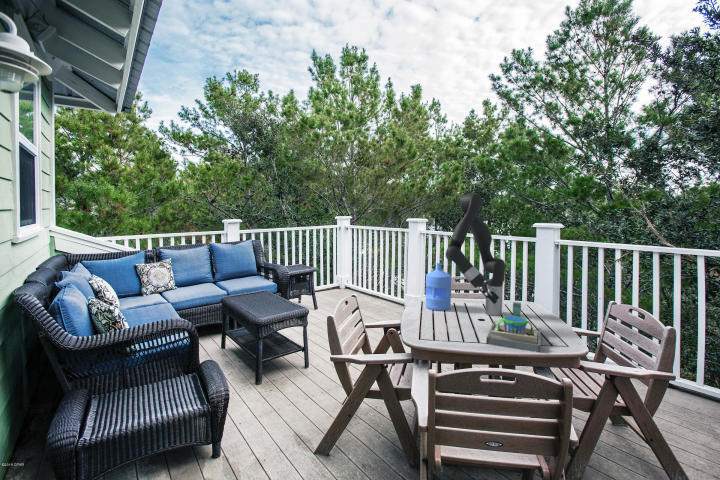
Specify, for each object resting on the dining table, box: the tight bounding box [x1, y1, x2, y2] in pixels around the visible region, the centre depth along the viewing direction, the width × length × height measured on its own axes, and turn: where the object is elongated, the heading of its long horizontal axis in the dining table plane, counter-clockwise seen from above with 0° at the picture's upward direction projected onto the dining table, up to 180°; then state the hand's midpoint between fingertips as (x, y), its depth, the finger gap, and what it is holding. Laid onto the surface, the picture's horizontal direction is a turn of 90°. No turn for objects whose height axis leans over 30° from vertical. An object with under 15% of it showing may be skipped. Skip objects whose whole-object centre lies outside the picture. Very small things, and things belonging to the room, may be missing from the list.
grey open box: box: [490, 301, 538, 344], centre depth 174 cm, size 23×20×14 cm
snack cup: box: [497, 315, 534, 335], centre depth 172 cm, size 16×10×10 cm
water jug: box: [425, 262, 452, 312], centre depth 228 cm, size 16×16×28 cm
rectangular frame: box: [486, 321, 542, 353], centre depth 174 cm, size 26×22×3 cm
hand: (496, 300), depth 187 cm, fingers open, 8 cm apart
